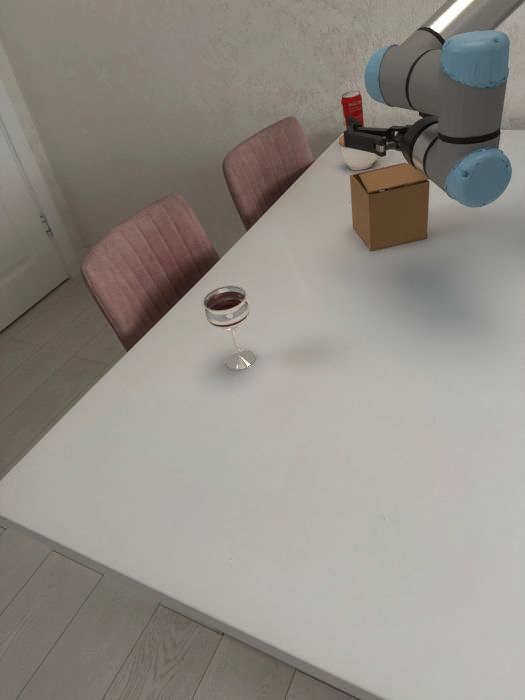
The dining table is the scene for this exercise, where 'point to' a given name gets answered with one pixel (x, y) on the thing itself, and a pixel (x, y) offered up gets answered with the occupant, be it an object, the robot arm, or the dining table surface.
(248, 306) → the wineglass
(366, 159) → the trinket box
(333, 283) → the dining table surface
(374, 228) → the carton
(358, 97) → the beverage can
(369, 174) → the carton flap
